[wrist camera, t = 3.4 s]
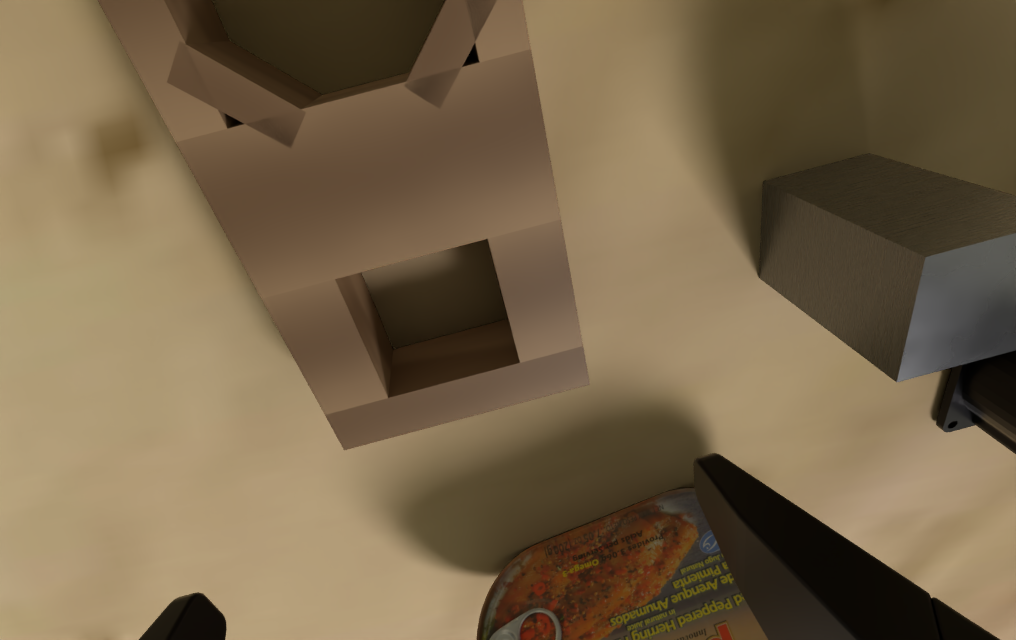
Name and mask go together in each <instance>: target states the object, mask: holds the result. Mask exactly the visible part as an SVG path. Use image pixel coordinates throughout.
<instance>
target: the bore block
mask: <svg viewBox="0 0 1016 640" xmlns="http://www.w3.org/2000/svg"><path fill="white" fill-rule="evenodd" d="M98 2H99V4H100V5H101V7H102V9H103V11H104V13H105V15H106V16H107V18H108V20H109V22H110V24H111V25H112V27H113V29H114V31H115V33H116V35H117V36H118V38H119V40H120V42H121V44H122V46H123V47H124V49H125V51H126V53H127V55H128V56H129V58H130V60H131V62H132V64H133V66H134V67H135V69H136V71H137V73H138V75H139V77H140V78H141V80H142V82H143V84H144V86H145V87H146V89H147V91H148V93H149V95H150V97H151V98H152V100H153V102H154V104H155V106H156V108H157V109H158V111H159V113H160V115H161V117H162V118H163V120H164V122H165V124H166V126H167V128H168V129H169V131H170V133H171V135H172V137H173V139H174V140H175V142H176V144H177V146H178V148H179V150H180V151H181V153H182V155H183V157H184V159H185V160H186V162H187V164H188V166H189V168H190V170H191V171H192V173H193V175H194V177H195V179H196V181H197V182H198V184H199V186H200V188H201V190H202V191H203V193H204V195H205V197H206V199H207V201H208V202H209V204H210V206H211V208H212V210H213V212H214V213H215V215H216V217H217V219H218V221H219V222H220V224H221V226H222V228H223V230H224V232H225V233H226V235H227V237H228V239H229V241H230V243H231V244H232V246H233V248H234V250H235V252H236V254H237V255H238V257H239V259H240V261H241V263H242V264H243V266H244V268H245V270H246V272H247V274H248V275H249V277H250V279H251V281H252V283H253V285H254V286H255V288H256V290H257V292H258V294H259V295H260V297H261V299H262V301H263V303H264V305H265V306H266V308H267V310H268V312H269V314H270V316H271V317H272V319H273V321H274V323H275V325H276V326H277V328H278V330H279V332H280V334H281V336H282V337H283V339H284V341H285V343H286V345H287V347H288V348H289V350H290V352H291V354H292V356H293V358H294V359H295V361H296V363H297V365H298V367H299V368H300V370H301V372H302V374H303V376H304V378H305V379H306V381H307V383H308V385H309V387H310V389H311V390H312V392H313V394H314V396H315V398H316V399H317V401H318V403H319V405H320V407H321V409H322V410H323V412H324V414H325V416H326V418H327V420H328V421H329V423H330V425H331V427H332V429H333V430H334V432H335V434H336V436H337V438H338V440H339V441H340V443H341V445H342V447H343V449H344V450H347V449H351V448H354V447H358V446H362V445H366V444H369V443H373V442H377V441H381V440H384V439H388V438H392V437H396V436H399V435H403V434H407V433H410V432H414V431H418V430H422V429H425V428H429V427H433V426H437V425H440V424H444V423H448V422H452V421H455V420H459V419H463V418H466V417H470V416H474V415H478V414H481V413H485V412H489V411H493V410H496V409H500V408H504V407H508V406H511V405H515V404H519V403H522V402H526V401H530V400H534V399H537V398H541V397H545V396H549V395H552V394H556V393H560V392H564V391H567V390H571V389H575V388H578V387H582V386H586V385H590V383H589V377H588V371H587V366H586V360H585V354H584V349H583V343H582V337H581V332H580V326H579V320H578V314H577V309H576V303H575V297H574V292H573V286H572V280H571V275H570V269H569V263H568V258H567V252H566V246H565V240H564V235H563V229H562V223H561V218H560V212H559V206H558V201H557V195H556V189H555V184H554V178H553V172H552V166H551V161H550V155H549V149H548V144H547V138H546V132H545V127H544V121H543V115H542V110H541V104H540V98H539V93H538V87H537V81H536V75H535V70H534V64H533V58H532V53H531V47H530V41H529V36H528V30H527V24H526V19H525V13H524V7H523V1H522V0H444V2H443V5H442V7H441V9H440V11H439V13H438V15H437V17H436V19H435V21H434V23H433V25H432V27H431V29H430V31H429V33H428V35H427V37H426V39H425V41H424V43H423V45H422V48H421V50H420V52H419V54H418V56H417V58H416V60H415V62H414V64H413V66H412V68H411V70H410V72H408V73H404V74H400V75H396V76H393V77H389V78H385V79H381V80H377V81H373V82H370V83H366V84H362V85H358V86H354V87H351V88H347V89H343V90H339V91H335V92H332V93H328V94H324V95H321V94H320V93H318V92H316V91H315V90H313V89H311V88H309V87H308V86H306V85H304V84H303V83H301V82H299V81H298V80H296V79H294V78H292V77H291V76H289V75H287V74H286V73H284V72H282V71H280V70H279V69H277V68H275V67H274V66H272V65H270V64H268V63H267V62H265V61H263V60H262V59H260V58H258V57H256V56H255V55H253V54H251V53H250V52H248V51H246V50H244V49H243V48H241V47H239V46H238V45H236V44H234V43H232V42H231V41H229V39H228V36H227V34H226V32H225V30H224V28H223V25H222V23H221V21H220V19H219V16H218V14H217V12H216V10H215V7H214V5H213V3H212V1H211V0H98ZM469 53H470V56H469V57H468V55H469ZM485 239H487V241H488V245H489V249H490V253H491V256H492V260H493V264H494V268H495V272H496V276H497V279H498V283H499V287H500V291H501V295H502V299H503V302H504V306H505V310H506V314H507V318H508V319H506V320H502V321H498V322H494V323H491V324H487V325H483V326H479V327H476V328H472V329H468V330H464V331H461V332H457V333H453V334H449V335H446V336H442V337H438V338H434V339H431V340H427V341H423V342H419V343H416V344H412V345H408V346H404V347H401V348H397V349H393V348H392V346H391V343H390V341H389V338H388V336H387V334H386V331H385V329H384V326H383V324H382V322H381V319H380V317H379V314H378V312H377V310H376V307H375V305H374V302H373V300H372V298H371V295H370V293H369V290H368V288H367V286H366V283H365V281H364V278H363V276H362V274H361V272H364V271H368V270H372V269H375V268H379V267H383V266H387V265H390V264H394V263H398V262H402V261H406V260H409V259H413V258H417V257H421V256H424V255H428V254H432V253H436V252H440V251H443V250H447V249H451V248H455V247H458V246H462V245H466V244H470V243H473V242H477V241H481V240H485Z"/></svg>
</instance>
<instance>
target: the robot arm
mask: <svg viewBox="0 0 1016 640" xmlns="http://www.w3.org/2000/svg"><path fill="white" fill-rule="evenodd" d="M936 425H937V426H938V427H939V428H940V429H942V430H943V431H944V432H952V431H955V430H959V429H963V428H967V427H970V426H974V425H976V426H978V427H979V428H981V429H982V430H983V431H985V432H986V433H987V434H989V435H990V436H992V437H993V438H994V439H996V440H997V441H998V442H1000V443H1001V444H1003V445H1004V446H1005V447H1007V448H1008V449H1009V450H1011V451H1012V452H1014V453H1015V454H1016V350H1015V351H1011V352H1007V353H1004V354H1000V355H996V356H993V357H989V358H985V359H982V360H978V361H974V362H970V363H967V364H963V365H959V366H956V367H953V368H952V371H951V375H950V378H949V382H948V385H947V388H946V392H945V395H944V398H943V402H942V405H941V408H940V412H939V415H938V419H937V422H936ZM693 466H694V487H695V493H696V497H697V499H698V502H699V504H700V506H701V509H702V511H703V513H704V515H705V517H706V520H707V522H708V524H709V526H710V528H711V531H712V533H713V535H714V537H715V539H716V542H717V544H718V546H719V548H720V550H721V553H722V555H723V557H724V559H725V561H726V564H727V566H728V568H729V570H730V572H731V574H732V577H733V579H734V581H735V583H736V585H737V587H738V588H739V590H740V592H741V594H742V596H743V598H744V599H745V601H746V603H747V604H748V606H749V608H750V610H751V611H752V613H753V615H754V616H755V618H756V620H757V622H758V623H759V625H760V627H761V628H762V630H763V632H764V633H765V635H766V637H767V639H768V640H1000V639H998V638H997V637H995V636H994V635H992V634H991V633H989V632H988V631H986V630H984V629H983V628H981V627H980V626H978V625H977V624H975V623H973V622H972V621H970V620H969V619H967V618H966V617H964V616H963V615H961V614H960V613H958V612H957V611H955V610H954V609H952V608H951V607H949V606H947V605H946V604H944V603H943V602H941V601H940V600H938V599H937V598H931V597H930V595H929V593H928V592H926V591H925V590H923V589H922V588H920V587H919V586H917V585H916V584H914V583H913V582H911V581H910V580H908V579H907V578H905V577H903V576H902V575H900V574H899V573H897V572H896V571H894V570H893V569H891V568H890V567H888V566H887V565H885V564H884V563H882V562H881V561H879V560H878V559H876V558H875V557H873V556H872V555H870V554H869V553H867V552H866V551H864V550H863V549H861V548H860V547H858V546H857V545H855V544H854V543H852V542H851V541H849V540H848V539H846V538H845V537H843V536H842V535H840V534H839V533H837V532H836V531H834V530H833V529H831V528H830V527H828V526H827V525H825V524H824V523H822V522H821V521H819V520H818V519H816V518H815V517H813V516H812V515H810V514H809V513H807V512H806V511H804V510H803V509H801V508H800V507H798V506H797V505H795V504H794V503H792V502H791V501H789V500H788V499H786V498H785V497H783V496H781V495H780V494H778V493H777V492H775V491H774V490H772V489H771V488H769V487H768V486H766V485H765V484H763V483H762V482H760V481H759V480H757V479H756V478H754V477H753V476H751V475H750V474H748V473H747V472H745V471H744V470H742V469H741V468H739V467H738V466H736V465H735V464H733V463H732V462H730V461H729V460H727V459H726V458H724V457H723V456H721V455H719V454H716V453H712V454H708V455H704V456H701V457H697V458H695V460H694V464H693ZM225 637H226V620H225V617H224V615H223V614H222V613H221V612H220V611H219V610H218V609H217V608H216V606H215V605H214V604H213V603H212V602H211V601H210V600H209V599H208V598H207V597H206V596H205V595H204V594H202V593H199V592H198V593H193V594H189V595H185V596H182V597H179V598H177V599H175V600H173V601H172V602H171V603H170V604H169V605H168V606H167V608H166V609H165V610H164V611H163V612H162V613H161V615H160V616H159V617H158V618H157V619H156V620H155V621H154V623H153V624H152V625H151V626H150V627H149V628H148V630H147V631H146V632H145V633H144V634H143V635H142V636H141V638H140V639H139V640H225Z"/></svg>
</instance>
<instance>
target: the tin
mask: <svg viewBox="0 0 1016 640" xmlns="http://www.w3.org/2000/svg"><path fill="white" fill-rule="evenodd" d="M477 640H768V639H767V637H766V635H765V633H764V632H763V630H762V628H761V627H760V625H759V623H758V622H757V620H756V618H755V616H754V615H753V613H752V611H751V610H750V608H749V606H748V604H747V603H746V601H745V599H744V598H743V596H742V594H741V592H740V590H739V588H738V587H737V585H736V583H735V581H734V579H733V577H732V574H731V572H730V570H729V568H728V566H727V564H726V561H725V559H724V557H723V555H722V553H721V550H720V548H719V546H718V544H717V542H716V539H715V537H714V535H713V533H712V531H711V528H710V526H709V524H708V522H707V520H706V517H705V515H704V513H703V511H702V509H701V506H700V504H699V502H698V499H697V497H696V493H695V488H684V489H676V490H671V491H667V492H664V493H661V494H659V495H656V496H654V497H651V498H649V499H646V500H644V501H641V502H639V503H637V504H634V505H632V506H629V507H627V508H624V509H622V510H620V511H618V512H615V513H613V514H610V515H608V516H605V517H603V518H600V519H598V520H596V521H593V522H591V523H588V524H586V525H583V526H581V527H578V528H575V529H573V530H570V531H568V532H565V533H563V534H561V535H558V536H556V537H553V538H550V539H548V540H546V541H543V542H541V543H538V544H536V545H534V546H532V547H530V548H528V549H526V550H525V551H523V552H522V553H520V554H519V555H518V556H516V557H515V558H514V559H513V560H512V561H511V562H510V563H509V564H508V565H507V566H506V567H505V568H504V569H503V570H502V571H501V573H500V574H499V575H498V577H497V578H496V580H495V581H494V583H493V585H492V586H491V588H490V590H489V592H488V594H487V597H486V599H485V602H484V604H483V607H482V610H481V614H480V619H479V624H478V630H477Z"/></svg>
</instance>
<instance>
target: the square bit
mask: <svg viewBox="0 0 1016 640" xmlns="http://www.w3.org/2000/svg"><path fill="white" fill-rule="evenodd" d="M759 278H760V279H761V280H763V281H764V282H765V283H766V284H768V285H769V286H770V287H772V288H773V289H774V290H776V291H777V292H778V293H780V294H781V295H782V296H784V297H785V298H786V299H788V300H789V301H790V302H792V303H793V304H794V305H795V306H797V307H798V308H799V309H801V310H802V311H803V312H805V313H806V314H807V315H809V316H810V317H811V318H813V319H814V320H815V321H817V322H818V323H819V324H820V325H822V326H823V327H824V328H826V329H827V330H828V331H830V332H831V333H832V334H834V335H835V336H836V337H838V338H839V339H840V340H842V341H843V342H844V343H846V344H847V345H848V346H849V347H851V348H852V349H853V350H855V351H856V352H857V353H859V354H860V355H861V356H863V357H864V358H865V359H867V360H868V361H869V362H871V363H872V364H873V365H874V366H876V367H877V368H878V369H880V370H881V371H882V372H884V373H885V374H886V375H888V376H889V377H890V378H892V379H893V380H894V381H896V382H900V381H904V380H907V379H911V378H915V377H918V376H922V375H926V374H930V373H933V372H937V371H941V370H944V369H948V368H952V367H956V366H959V365H963V364H967V363H970V362H974V361H978V360H982V359H985V358H989V357H993V356H996V355H1000V354H1004V353H1007V352H1011V351H1015V350H1016V196H1014V195H1011V194H1007V193H1004V192H1000V191H997V190H994V189H990V188H987V187H983V186H980V185H976V184H973V183H969V182H966V181H963V180H959V179H956V178H952V177H949V176H945V175H942V174H939V173H935V172H932V171H928V170H925V169H921V168H918V167H914V166H911V165H908V164H904V163H901V162H897V161H894V160H890V159H887V158H884V157H880V156H877V155H873V154H870V153H869V154H865V155H861V156H857V157H853V158H850V159H846V160H842V161H838V162H835V163H831V164H827V165H823V166H820V167H816V168H812V169H808V170H804V171H801V172H797V173H793V174H789V175H786V176H782V177H778V178H774V179H771V180H767V181H763V194H762V218H761V242H760V265H759Z"/></svg>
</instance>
